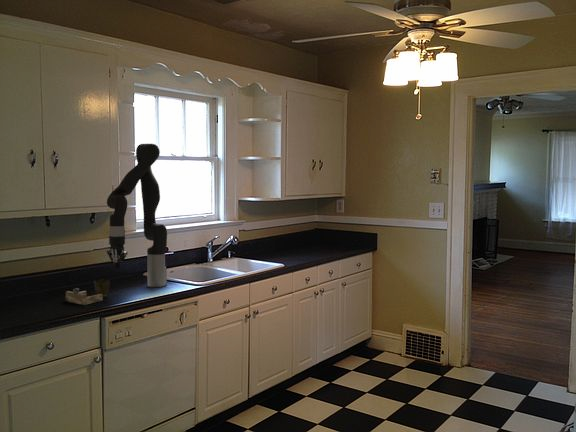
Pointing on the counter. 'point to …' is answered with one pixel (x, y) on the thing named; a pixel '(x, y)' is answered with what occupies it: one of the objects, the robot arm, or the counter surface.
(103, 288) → the cup
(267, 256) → the counter surface
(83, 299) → the hub cradle
